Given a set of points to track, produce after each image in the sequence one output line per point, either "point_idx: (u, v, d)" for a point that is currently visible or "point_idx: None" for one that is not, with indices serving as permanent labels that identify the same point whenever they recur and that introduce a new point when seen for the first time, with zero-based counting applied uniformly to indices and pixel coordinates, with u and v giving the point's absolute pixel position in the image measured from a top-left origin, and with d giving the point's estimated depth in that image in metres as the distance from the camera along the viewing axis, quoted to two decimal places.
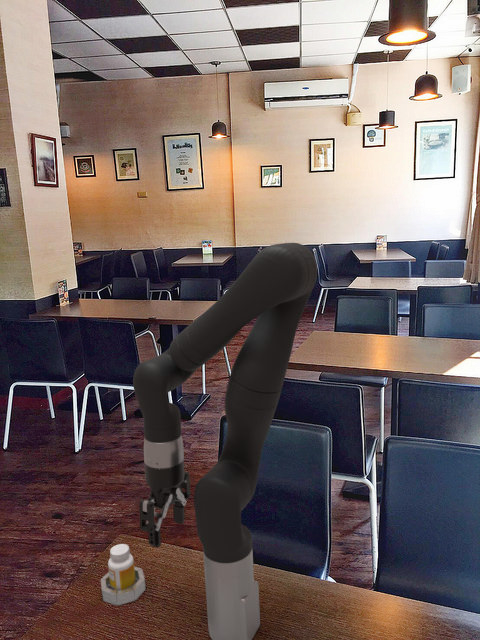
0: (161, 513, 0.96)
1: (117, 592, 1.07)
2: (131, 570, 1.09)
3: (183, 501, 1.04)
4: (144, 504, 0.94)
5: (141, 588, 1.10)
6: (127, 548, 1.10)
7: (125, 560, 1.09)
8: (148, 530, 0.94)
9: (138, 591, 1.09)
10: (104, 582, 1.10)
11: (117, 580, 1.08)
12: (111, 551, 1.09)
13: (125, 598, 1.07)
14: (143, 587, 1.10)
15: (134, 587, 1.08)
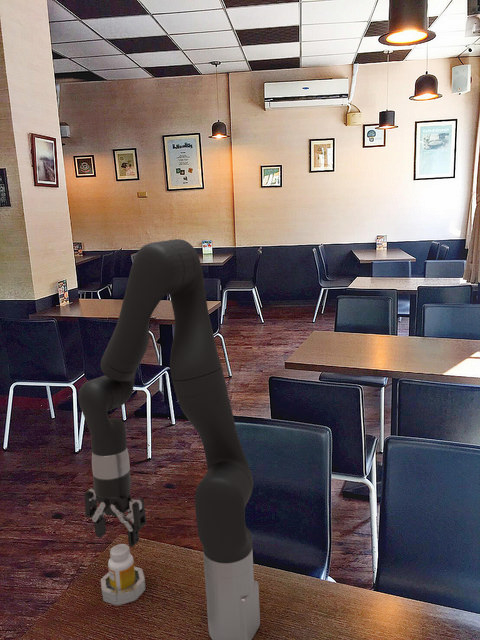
0: (132, 511, 1.08)
1: (117, 592, 1.07)
2: (131, 570, 1.09)
3: None
4: (139, 503, 1.04)
5: (141, 588, 1.10)
6: (127, 548, 1.10)
7: (125, 560, 1.09)
8: (145, 523, 1.06)
9: (138, 591, 1.09)
10: (104, 582, 1.10)
11: (117, 580, 1.08)
12: (111, 551, 1.09)
13: (125, 598, 1.07)
14: (143, 587, 1.10)
15: (134, 587, 1.08)
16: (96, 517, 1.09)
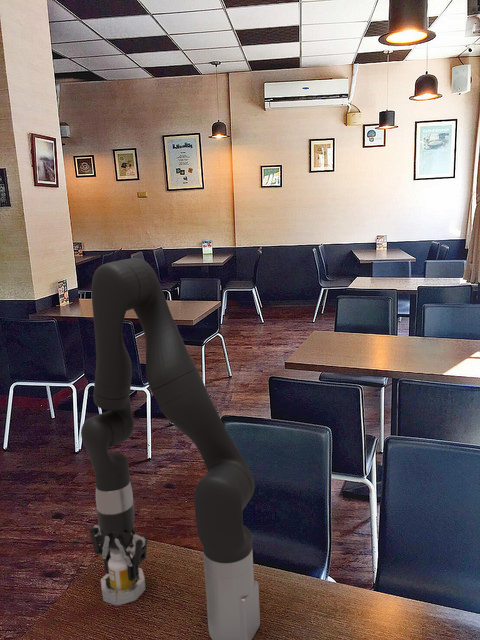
0: None
1: (117, 592, 1.07)
2: None
3: None
4: (143, 541, 1.06)
5: (141, 588, 1.10)
6: (127, 548, 1.10)
7: (125, 560, 1.09)
8: (144, 558, 1.08)
9: (138, 591, 1.09)
10: (104, 582, 1.10)
11: (117, 580, 1.08)
12: (111, 551, 1.09)
13: (125, 598, 1.07)
14: (143, 587, 1.10)
15: (134, 587, 1.08)
16: (105, 553, 1.10)
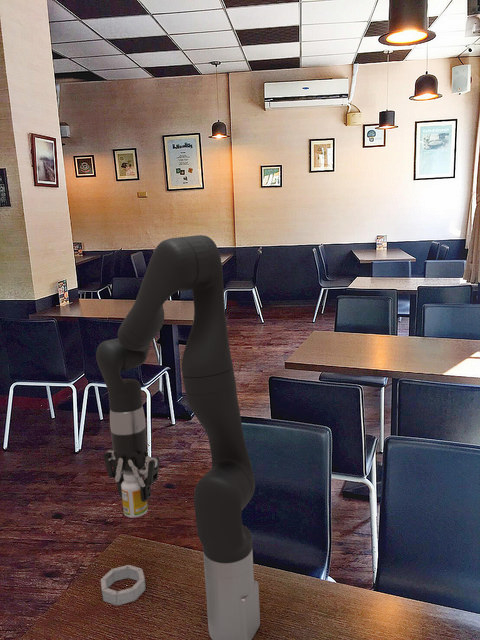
0: (146, 468, 1.14)
1: (117, 592, 1.07)
2: None
3: None
4: (155, 461, 1.11)
5: (141, 588, 1.10)
6: (139, 471, 1.15)
7: (138, 482, 1.14)
8: (156, 479, 1.13)
9: (138, 591, 1.09)
10: (104, 582, 1.10)
11: (130, 500, 1.13)
12: (124, 473, 1.14)
13: (125, 598, 1.07)
14: (143, 587, 1.10)
15: (134, 587, 1.08)
16: (118, 476, 1.15)
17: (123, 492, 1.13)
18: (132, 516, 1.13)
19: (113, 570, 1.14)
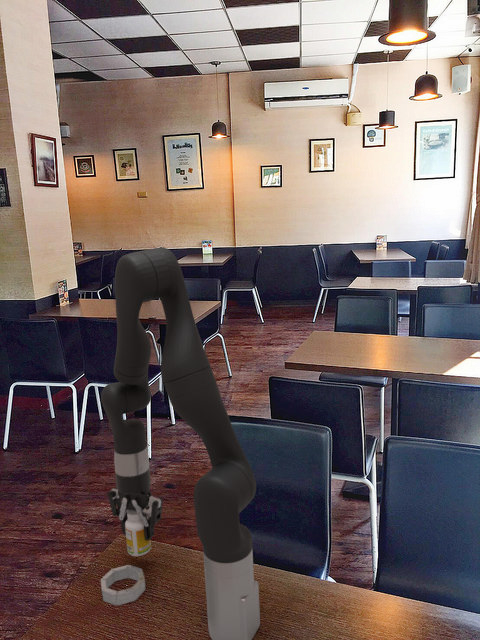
0: (150, 507, 1.16)
1: (117, 592, 1.07)
2: None
3: None
4: (159, 502, 1.13)
5: (141, 588, 1.10)
6: (143, 510, 1.16)
7: (141, 521, 1.15)
8: (159, 519, 1.15)
9: (138, 591, 1.09)
10: (104, 582, 1.10)
11: (134, 539, 1.15)
12: (128, 512, 1.16)
13: (125, 598, 1.07)
14: (143, 587, 1.10)
15: (134, 587, 1.08)
16: (122, 515, 1.17)
17: (127, 531, 1.15)
18: (136, 555, 1.15)
19: (113, 570, 1.14)
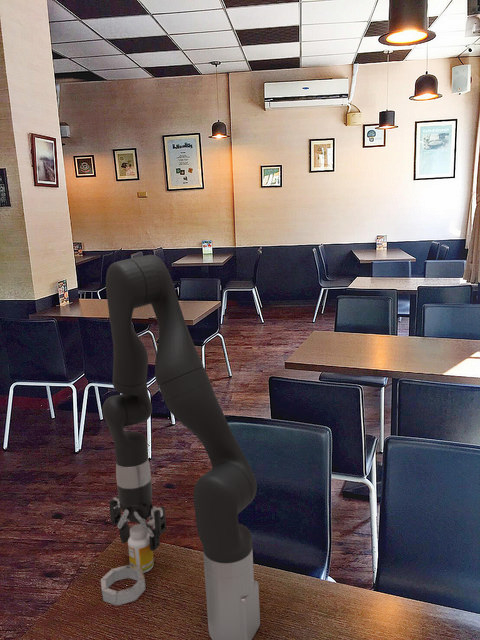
0: (153, 517, 1.16)
1: (117, 592, 1.07)
2: (149, 547, 1.17)
3: None
4: (160, 511, 1.13)
5: (141, 588, 1.10)
6: None
7: (144, 538, 1.16)
8: (165, 529, 1.15)
9: (138, 591, 1.09)
10: (104, 582, 1.10)
11: (137, 557, 1.15)
12: (131, 530, 1.16)
13: (125, 598, 1.07)
14: (143, 587, 1.10)
15: (134, 587, 1.08)
16: (121, 524, 1.18)
17: (130, 549, 1.16)
18: None
19: (113, 570, 1.14)
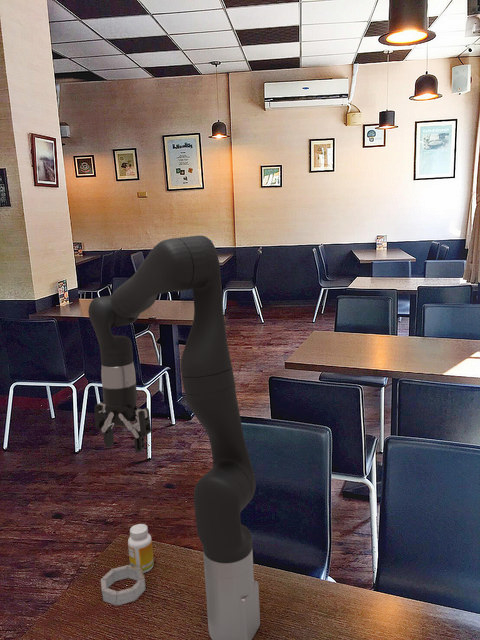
0: (138, 421, 1.18)
1: (117, 592, 1.07)
2: (149, 547, 1.17)
3: None
4: (145, 411, 1.15)
5: (141, 588, 1.10)
6: (146, 527, 1.17)
7: (144, 538, 1.16)
8: (150, 431, 1.16)
9: (138, 591, 1.09)
10: (104, 582, 1.10)
11: (137, 557, 1.15)
12: (131, 530, 1.16)
13: (125, 598, 1.07)
14: (143, 587, 1.10)
15: (134, 587, 1.08)
16: (105, 428, 1.19)
17: (130, 549, 1.16)
18: None
19: (113, 570, 1.14)
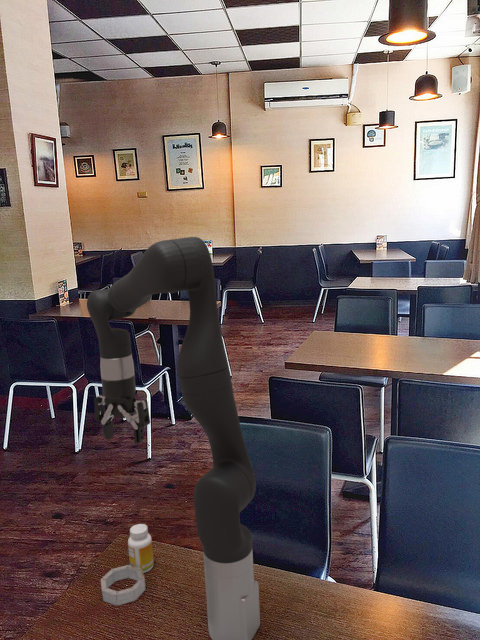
0: (137, 412, 1.19)
1: (117, 592, 1.07)
2: (149, 547, 1.17)
3: None
4: (143, 403, 1.16)
5: (141, 588, 1.10)
6: (146, 527, 1.17)
7: (144, 538, 1.16)
8: (148, 422, 1.18)
9: (138, 591, 1.09)
10: (104, 582, 1.10)
11: (137, 557, 1.15)
12: (131, 530, 1.16)
13: (125, 598, 1.07)
14: (143, 587, 1.10)
15: (134, 587, 1.08)
16: (105, 420, 1.21)
17: (130, 549, 1.16)
18: None
19: (113, 570, 1.14)
